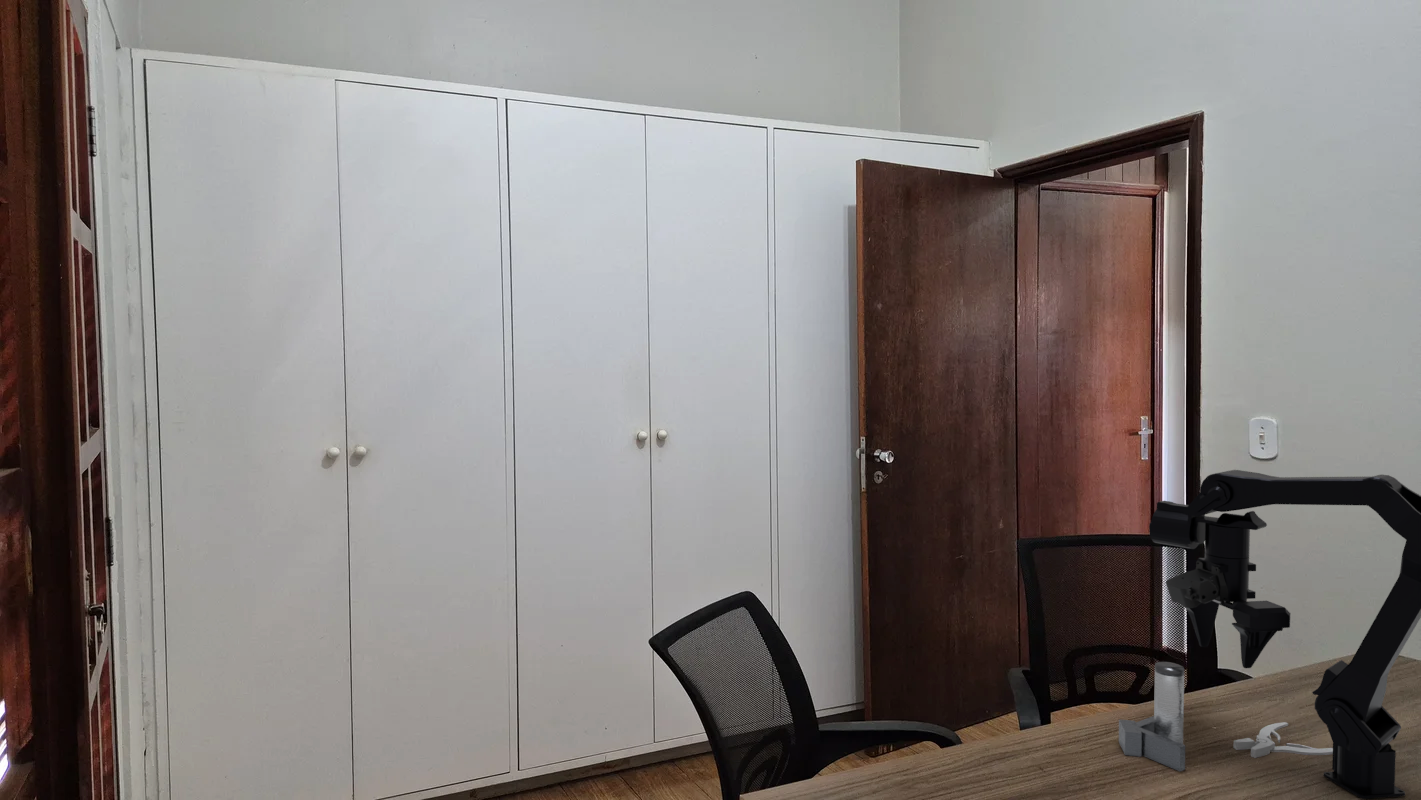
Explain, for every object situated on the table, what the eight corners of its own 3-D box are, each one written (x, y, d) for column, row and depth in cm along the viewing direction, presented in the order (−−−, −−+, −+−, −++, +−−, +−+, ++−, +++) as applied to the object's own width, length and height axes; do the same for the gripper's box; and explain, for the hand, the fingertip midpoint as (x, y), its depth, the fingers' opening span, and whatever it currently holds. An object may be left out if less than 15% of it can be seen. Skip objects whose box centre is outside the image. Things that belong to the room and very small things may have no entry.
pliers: (1348, 742, 126) (1275, 759, 121) (1348, 752, 126) (1275, 770, 121) (1283, 716, 135) (1213, 731, 130) (1283, 725, 135) (1213, 741, 130)
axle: (1188, 758, 124) (1190, 670, 123) (1164, 759, 123) (1165, 671, 123) (1171, 746, 128) (1173, 661, 127) (1148, 747, 127) (1149, 662, 127)
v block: (1165, 736, 131) (1165, 714, 131) (1186, 772, 120) (1187, 747, 119) (1113, 731, 133) (1114, 709, 133) (1130, 766, 121) (1130, 742, 121)
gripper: (1138, 542, 136) (1136, 638, 137) (1220, 572, 117) (1218, 683, 118) (1203, 540, 137) (1201, 635, 138) (1294, 569, 119) (1291, 679, 119)
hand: (1224, 656), depth 128 cm, fingers open, 9 cm apart
